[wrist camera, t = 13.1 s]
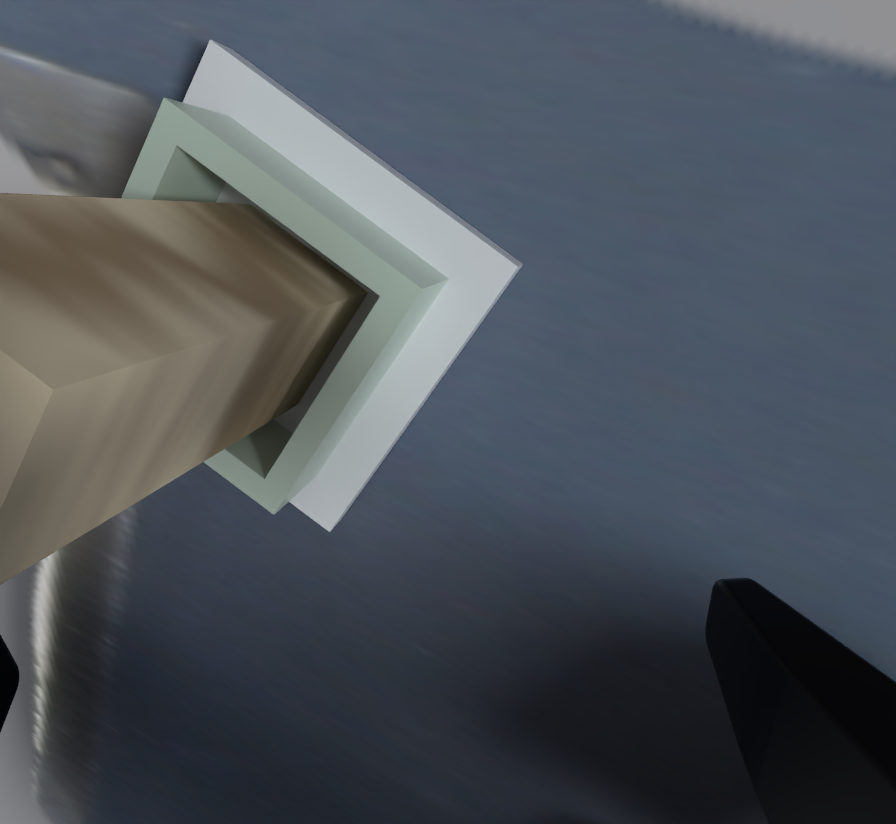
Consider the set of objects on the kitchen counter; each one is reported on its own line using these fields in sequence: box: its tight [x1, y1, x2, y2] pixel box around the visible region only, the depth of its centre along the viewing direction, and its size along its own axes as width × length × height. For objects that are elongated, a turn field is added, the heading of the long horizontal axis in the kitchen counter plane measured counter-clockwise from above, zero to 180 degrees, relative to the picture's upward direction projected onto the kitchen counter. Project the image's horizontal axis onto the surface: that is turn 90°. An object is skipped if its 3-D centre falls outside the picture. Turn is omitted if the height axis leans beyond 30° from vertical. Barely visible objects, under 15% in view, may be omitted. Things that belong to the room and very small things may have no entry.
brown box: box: [0, 193, 368, 585], centre depth 15 cm, size 4×4×12 cm
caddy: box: [121, 40, 523, 532], centre depth 20 cm, size 11×11×4 cm
